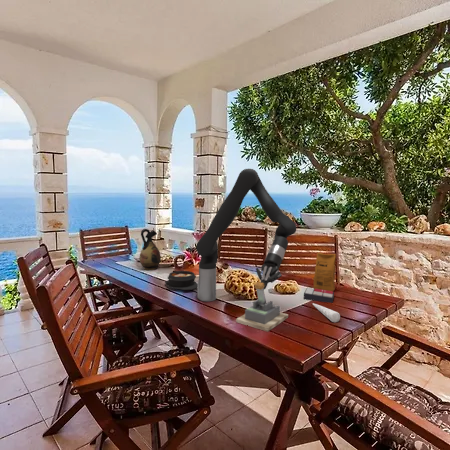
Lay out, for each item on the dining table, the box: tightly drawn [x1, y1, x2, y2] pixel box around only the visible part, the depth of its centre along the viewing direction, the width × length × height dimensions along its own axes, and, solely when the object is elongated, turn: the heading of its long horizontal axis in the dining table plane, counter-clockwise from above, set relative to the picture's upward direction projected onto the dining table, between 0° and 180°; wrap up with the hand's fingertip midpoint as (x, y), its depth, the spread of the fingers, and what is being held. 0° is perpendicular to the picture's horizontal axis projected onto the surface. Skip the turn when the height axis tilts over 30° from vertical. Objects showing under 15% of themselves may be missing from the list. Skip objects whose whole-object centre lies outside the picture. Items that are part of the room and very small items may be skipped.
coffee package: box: [312, 252, 337, 292], centre depth 191 cm, size 10×12×22 cm
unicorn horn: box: [312, 303, 341, 323], centre depth 156 cm, size 5×24×5 cm, turn 6°
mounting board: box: [235, 311, 289, 333], centre depth 147 cm, size 19×16×2 cm
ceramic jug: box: [139, 228, 162, 271], centre depth 239 cm, size 17×15×30 cm
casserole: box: [164, 270, 198, 291], centre depth 195 cm, size 25×19×8 cm
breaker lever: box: [254, 281, 267, 307], centre depth 144 cm, size 3×4×12 cm
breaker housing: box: [244, 299, 281, 324], centre depth 146 cm, size 14×10×7 cm
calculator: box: [303, 287, 335, 304], centre depth 177 cm, size 11×4×15 cm
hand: (261, 288), depth 144 cm, fingers closed
